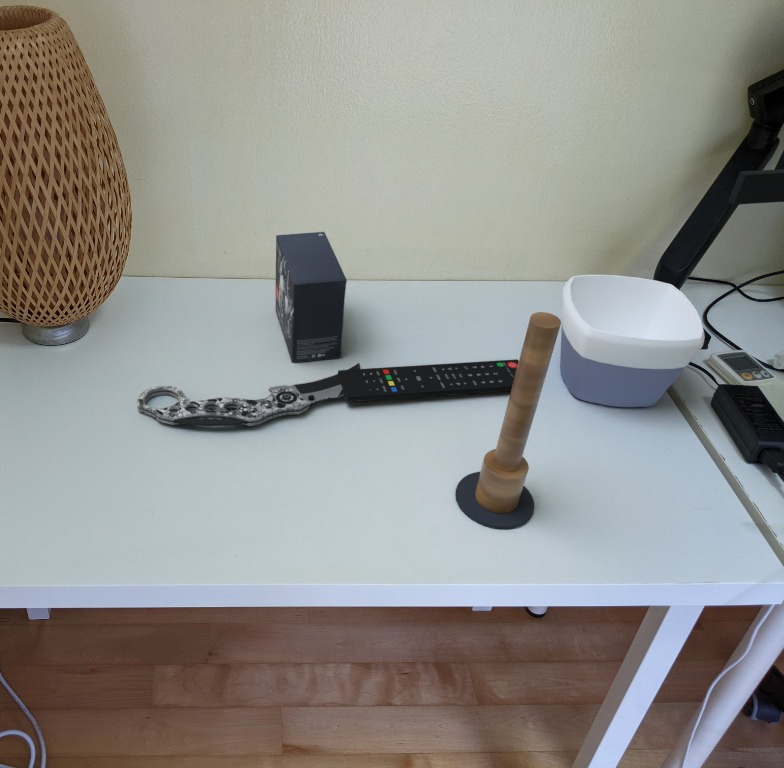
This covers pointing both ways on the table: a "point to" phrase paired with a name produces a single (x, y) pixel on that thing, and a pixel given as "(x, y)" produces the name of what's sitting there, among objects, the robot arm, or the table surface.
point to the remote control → (427, 380)
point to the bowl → (625, 338)
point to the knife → (241, 404)
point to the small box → (309, 296)
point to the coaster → (486, 517)
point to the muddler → (518, 419)
